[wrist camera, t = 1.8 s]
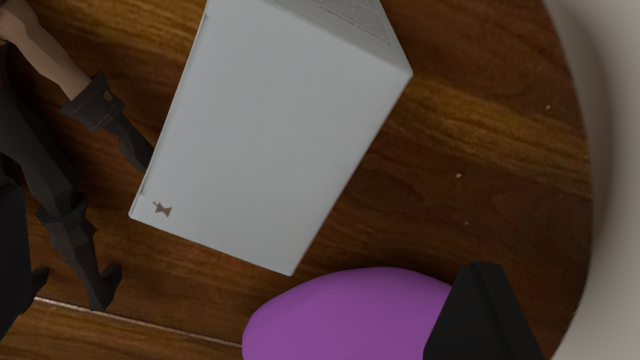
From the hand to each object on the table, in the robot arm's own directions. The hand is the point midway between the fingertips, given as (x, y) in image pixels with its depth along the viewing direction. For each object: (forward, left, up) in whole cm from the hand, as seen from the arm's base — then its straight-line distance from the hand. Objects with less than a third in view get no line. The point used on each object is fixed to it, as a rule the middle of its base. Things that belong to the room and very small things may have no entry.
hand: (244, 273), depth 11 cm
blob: (+16, +8, -15) cm, 23 cm away
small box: (-1, 0, -15) cm, 15 cm away
